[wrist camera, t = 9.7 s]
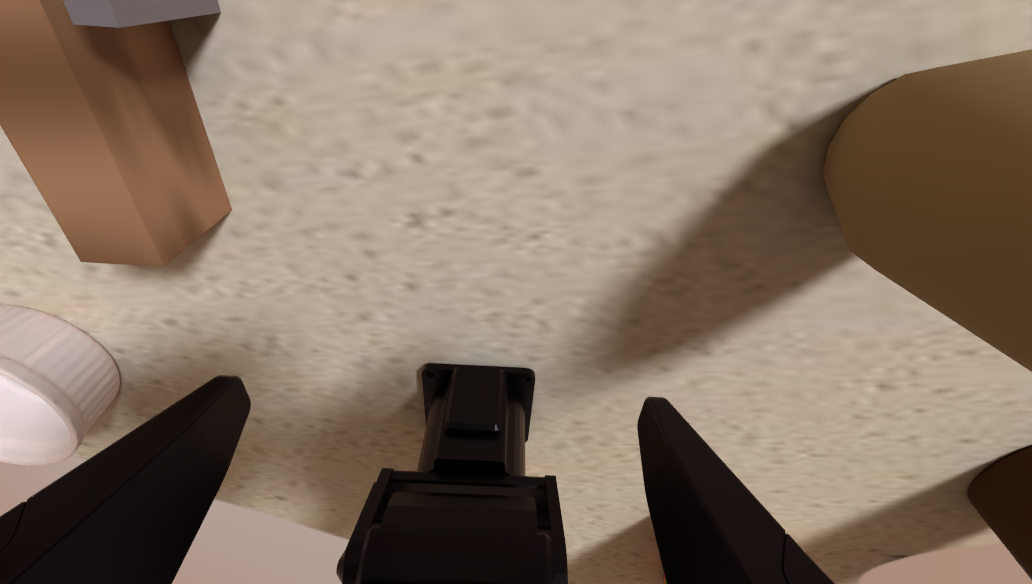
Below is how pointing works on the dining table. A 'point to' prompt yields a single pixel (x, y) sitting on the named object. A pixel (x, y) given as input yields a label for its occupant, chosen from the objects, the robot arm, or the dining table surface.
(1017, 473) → the olive oil
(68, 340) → the ramekin
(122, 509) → the robot arm
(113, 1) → the end cap
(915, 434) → the dining table surface
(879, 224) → the squeeze bottle
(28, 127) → the slat
